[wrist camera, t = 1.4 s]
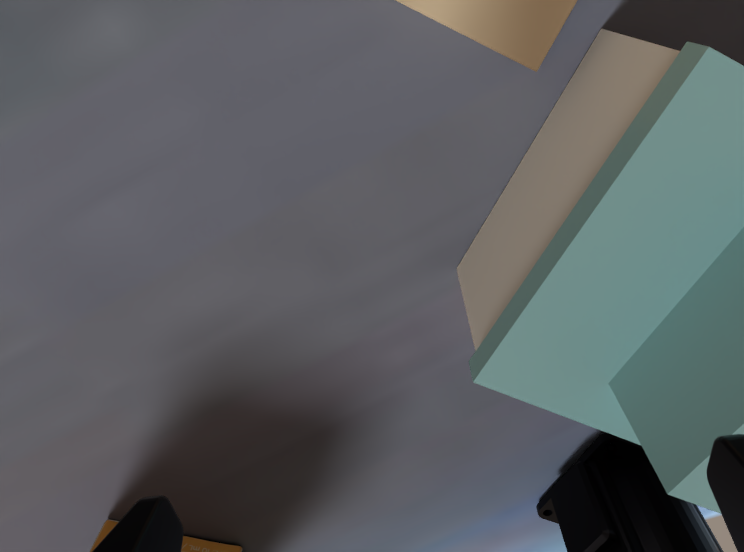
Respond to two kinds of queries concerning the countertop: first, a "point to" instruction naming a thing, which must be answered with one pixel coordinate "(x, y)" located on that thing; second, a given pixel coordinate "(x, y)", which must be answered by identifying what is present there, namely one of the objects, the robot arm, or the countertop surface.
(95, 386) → the countertop surface
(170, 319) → the countertop surface
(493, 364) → the lid
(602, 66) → the storage box
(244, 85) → the countertop surface
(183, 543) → the small box
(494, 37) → the wooden board
